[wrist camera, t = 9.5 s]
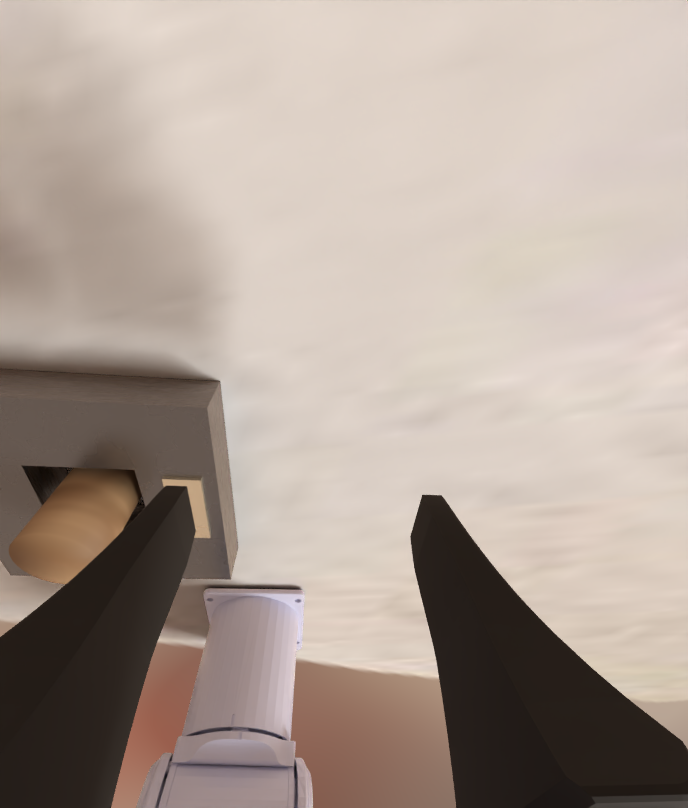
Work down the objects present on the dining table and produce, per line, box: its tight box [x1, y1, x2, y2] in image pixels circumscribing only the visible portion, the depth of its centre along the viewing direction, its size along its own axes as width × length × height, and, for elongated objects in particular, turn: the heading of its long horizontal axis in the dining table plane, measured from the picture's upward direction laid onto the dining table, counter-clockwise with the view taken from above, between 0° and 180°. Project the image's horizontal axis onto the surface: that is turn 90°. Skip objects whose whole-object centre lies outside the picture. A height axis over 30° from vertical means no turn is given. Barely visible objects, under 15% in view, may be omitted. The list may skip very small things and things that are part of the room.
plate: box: [0, 369, 238, 579], centre depth 22 cm, size 14×14×3 cm
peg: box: [9, 468, 142, 584], centre depth 21 cm, size 4×4×6 cm
